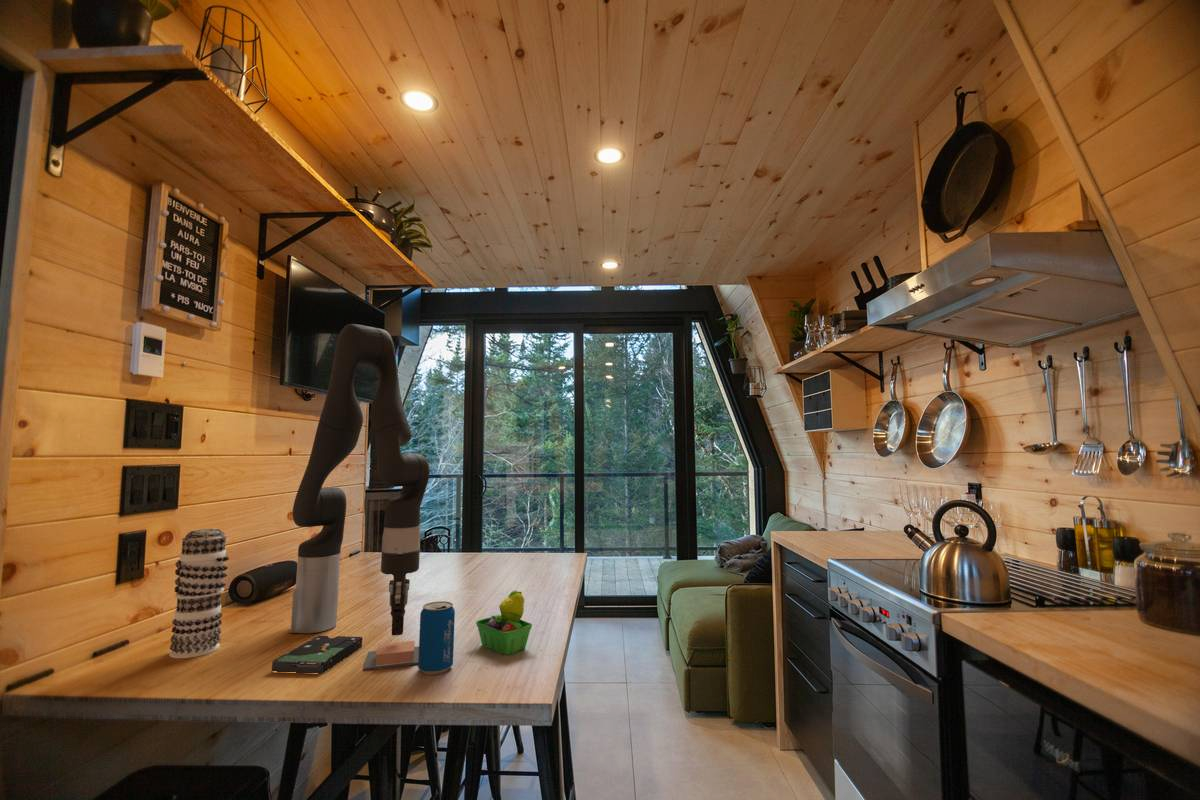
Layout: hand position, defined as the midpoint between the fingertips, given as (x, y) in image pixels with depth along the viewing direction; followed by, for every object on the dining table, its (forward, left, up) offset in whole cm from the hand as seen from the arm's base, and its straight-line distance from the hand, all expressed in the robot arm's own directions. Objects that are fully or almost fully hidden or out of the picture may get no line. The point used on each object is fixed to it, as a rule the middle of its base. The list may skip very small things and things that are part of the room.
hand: (397, 634), depth 108 cm
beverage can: (+8, -9, -5) cm, 13 cm away
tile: (0, +1, -3) cm, 3 cm away
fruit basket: (+22, -1, -5) cm, 23 cm away
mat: (0, -1, -4) cm, 5 cm away
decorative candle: (-41, +17, -5) cm, 44 cm away
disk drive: (-15, +4, -5) cm, 16 cm away
